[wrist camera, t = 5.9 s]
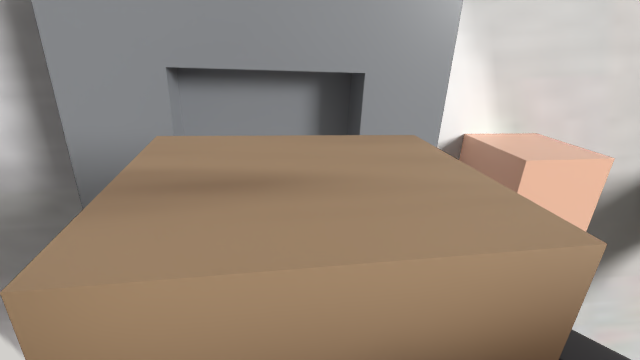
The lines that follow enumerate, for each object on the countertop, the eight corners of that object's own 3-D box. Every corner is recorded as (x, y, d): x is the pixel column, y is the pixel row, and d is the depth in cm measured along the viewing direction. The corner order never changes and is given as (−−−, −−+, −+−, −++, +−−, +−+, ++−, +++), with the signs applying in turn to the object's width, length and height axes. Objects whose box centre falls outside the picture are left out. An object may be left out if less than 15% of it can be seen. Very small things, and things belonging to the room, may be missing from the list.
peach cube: (514, 205, 23) (580, 245, 18) (448, 208, 22) (500, 252, 17) (535, 133, 21) (614, 158, 16) (463, 133, 20) (526, 160, 15)
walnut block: (386, 320, 11) (488, 528, 6) (185, 343, 9) (126, 620, 5) (414, 134, 8) (607, 244, 4) (156, 136, 7) (0, 292, 3)
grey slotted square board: (391, 259, 22) (411, 289, 20) (130, 281, 19) (110, 320, 17) (431, -16, 16) (468, -27, 14) (61, -48, 13) (13, -71, 11)
